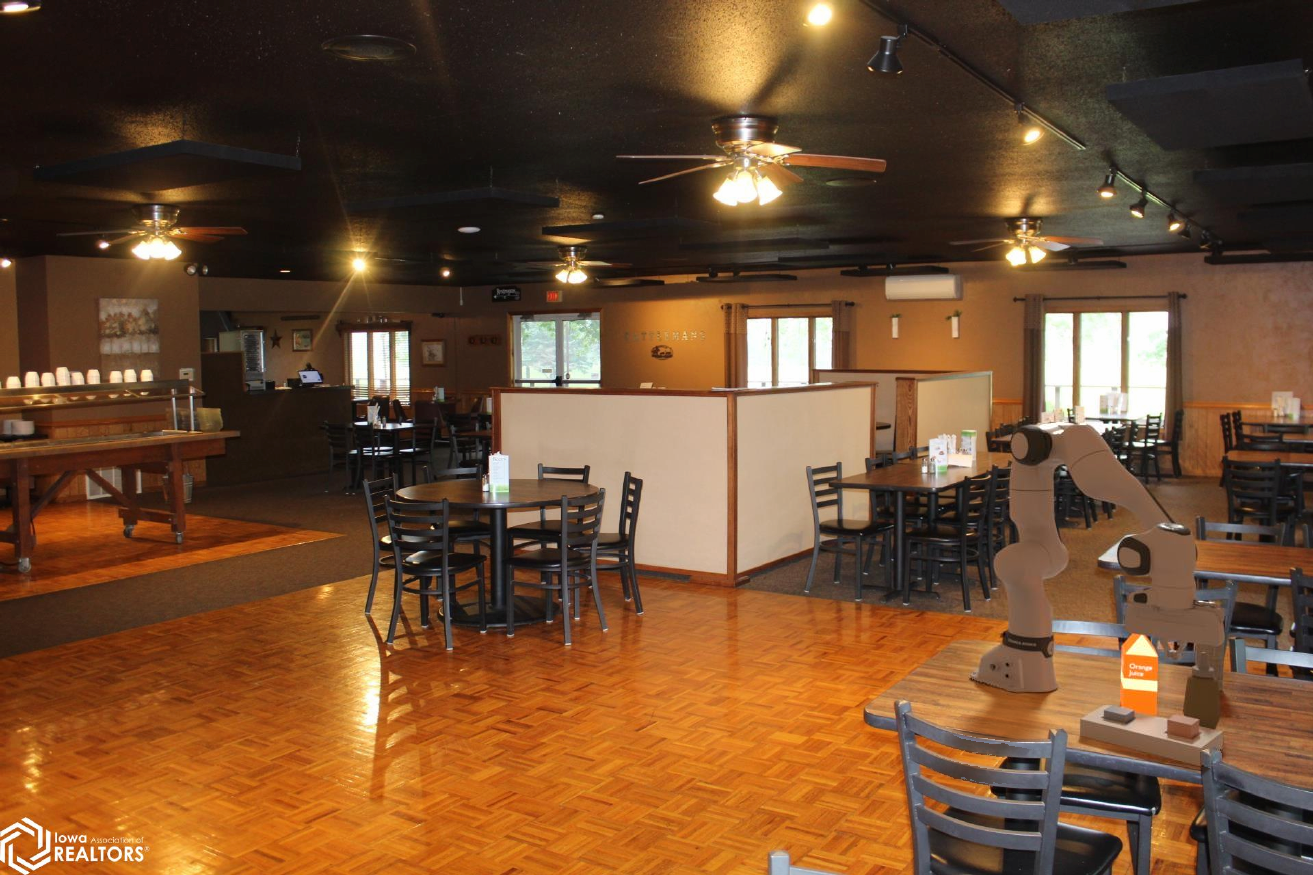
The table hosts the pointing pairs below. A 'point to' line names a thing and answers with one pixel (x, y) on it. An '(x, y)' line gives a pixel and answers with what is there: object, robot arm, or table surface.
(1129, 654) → the orange juice
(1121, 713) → the slate key
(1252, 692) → the table surface
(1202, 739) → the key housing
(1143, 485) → the robot arm
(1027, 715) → the table surface
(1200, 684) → the squeeze bottle
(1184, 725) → the terracotta key
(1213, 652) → the spray can
